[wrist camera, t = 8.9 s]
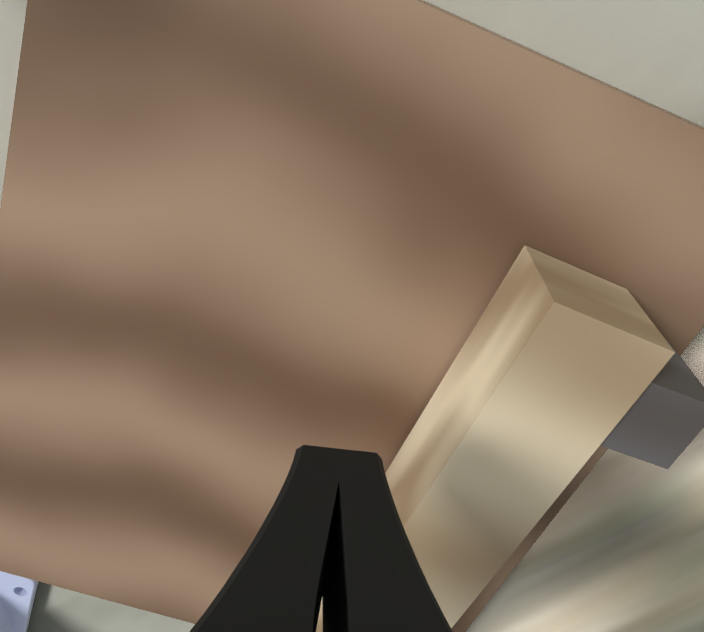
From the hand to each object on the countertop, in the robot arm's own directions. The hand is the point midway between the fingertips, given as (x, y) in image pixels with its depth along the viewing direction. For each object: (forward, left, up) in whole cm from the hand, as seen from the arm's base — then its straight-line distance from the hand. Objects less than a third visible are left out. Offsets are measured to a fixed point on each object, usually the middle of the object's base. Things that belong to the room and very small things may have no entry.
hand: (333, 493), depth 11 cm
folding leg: (-5, -5, -7) cm, 10 cm away
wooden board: (-4, 0, -9) cm, 10 cm away
